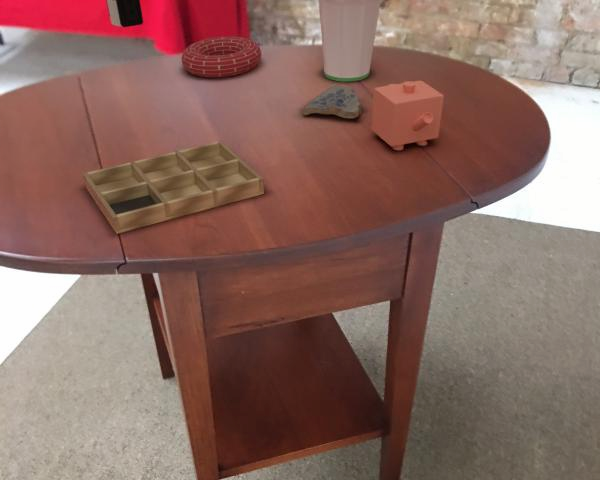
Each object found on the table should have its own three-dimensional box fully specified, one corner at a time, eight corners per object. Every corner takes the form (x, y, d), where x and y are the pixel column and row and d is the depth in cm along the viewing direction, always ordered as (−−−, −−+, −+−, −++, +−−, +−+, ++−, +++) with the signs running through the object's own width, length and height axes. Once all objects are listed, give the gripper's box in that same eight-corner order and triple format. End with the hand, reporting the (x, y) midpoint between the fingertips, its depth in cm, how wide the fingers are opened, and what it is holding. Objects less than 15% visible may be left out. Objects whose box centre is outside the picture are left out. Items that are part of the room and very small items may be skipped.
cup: (393, 71, 118) (401, -26, 107) (354, 91, 111) (358, -11, 100) (339, 58, 123) (341, -36, 112) (299, 76, 117) (297, -22, 106)
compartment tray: (116, 234, 78) (112, 217, 77) (86, 188, 87) (82, 173, 85) (264, 193, 85) (263, 178, 83) (222, 155, 94) (221, 140, 92)
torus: (230, 49, 129) (228, 29, 126) (278, 64, 122) (277, 44, 119) (167, 68, 121) (163, 47, 118) (213, 86, 114) (211, 64, 111)
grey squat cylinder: (116, 28, 90) (111, 2, 88) (107, 20, 93) (102, -5, 90) (146, 23, 91) (142, -3, 89) (136, 16, 94) (132, -9, 92)
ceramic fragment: (355, 115, 99) (299, 96, 101) (351, 135, 101) (297, 115, 104) (381, 92, 105) (328, 74, 108) (377, 110, 108) (325, 93, 110)
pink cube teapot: (400, 162, 91) (406, 102, 85) (365, 131, 99) (368, 74, 93) (448, 153, 93) (457, 94, 87) (409, 123, 101) (415, 67, 95)
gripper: (49, -148, 83) (84, 11, 96) (85, -137, 72) (119, 40, 85) (105, -151, 86) (132, 4, 98) (148, -141, 75) (171, 31, 88)
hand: (126, 19), depth 92 cm, fingers closed on grey squat cylinder, 4 cm apart
